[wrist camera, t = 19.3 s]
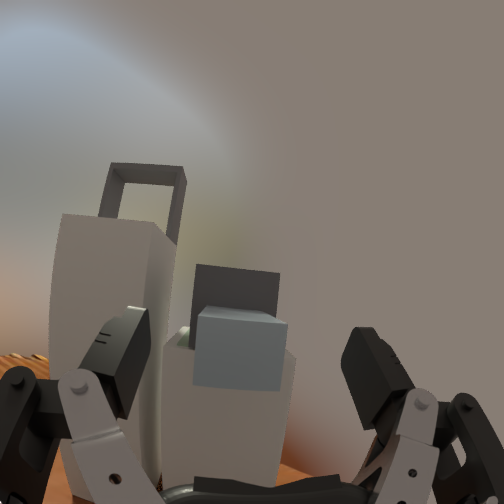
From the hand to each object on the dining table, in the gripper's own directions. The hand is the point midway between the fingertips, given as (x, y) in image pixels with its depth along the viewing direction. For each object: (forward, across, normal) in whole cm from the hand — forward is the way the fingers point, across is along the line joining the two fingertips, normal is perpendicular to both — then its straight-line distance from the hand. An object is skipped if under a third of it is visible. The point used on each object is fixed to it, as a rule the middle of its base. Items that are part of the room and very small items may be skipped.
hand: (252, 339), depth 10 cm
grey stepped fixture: (+3, -6, -31) cm, 32 cm away
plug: (+9, 0, -9) cm, 12 cm away
